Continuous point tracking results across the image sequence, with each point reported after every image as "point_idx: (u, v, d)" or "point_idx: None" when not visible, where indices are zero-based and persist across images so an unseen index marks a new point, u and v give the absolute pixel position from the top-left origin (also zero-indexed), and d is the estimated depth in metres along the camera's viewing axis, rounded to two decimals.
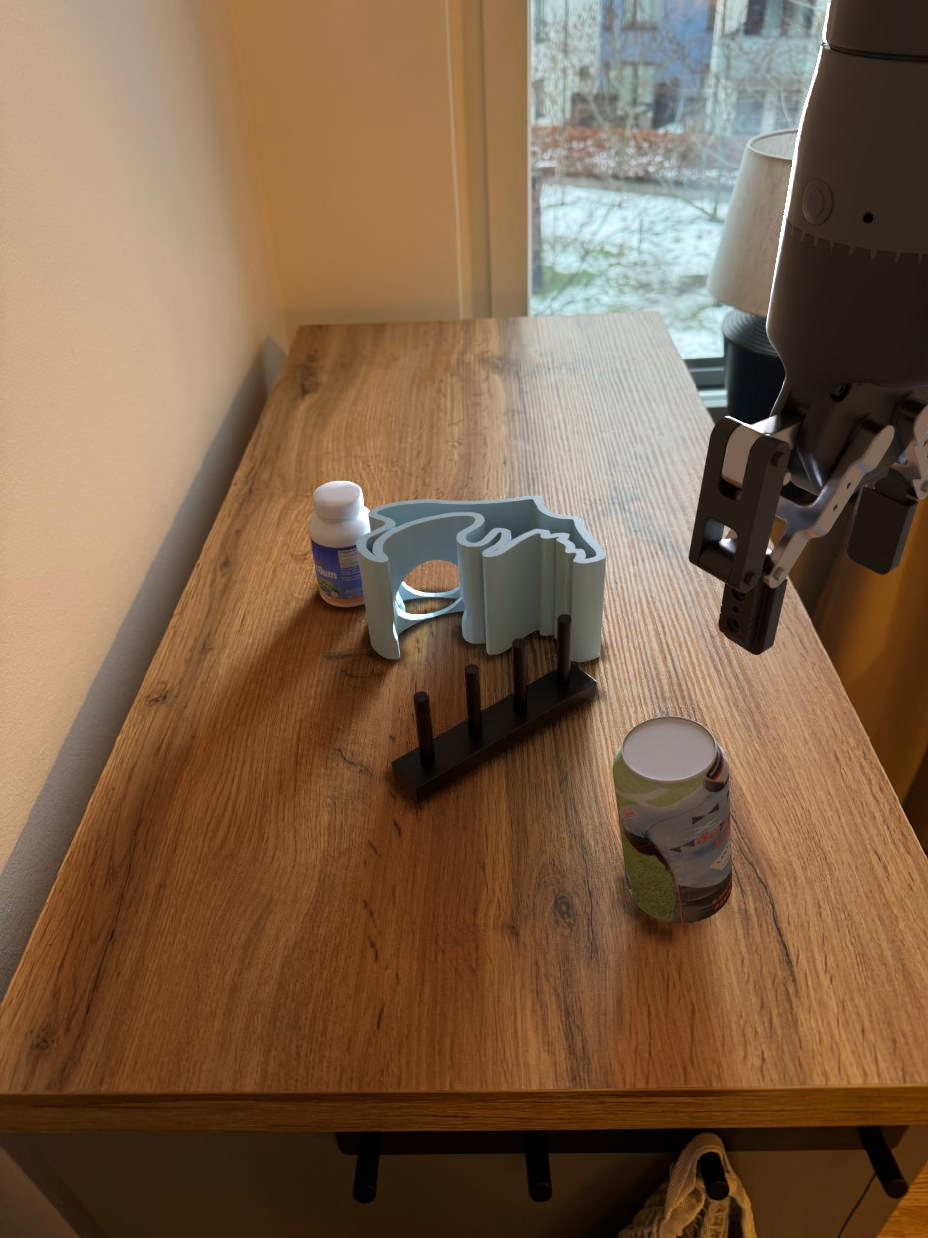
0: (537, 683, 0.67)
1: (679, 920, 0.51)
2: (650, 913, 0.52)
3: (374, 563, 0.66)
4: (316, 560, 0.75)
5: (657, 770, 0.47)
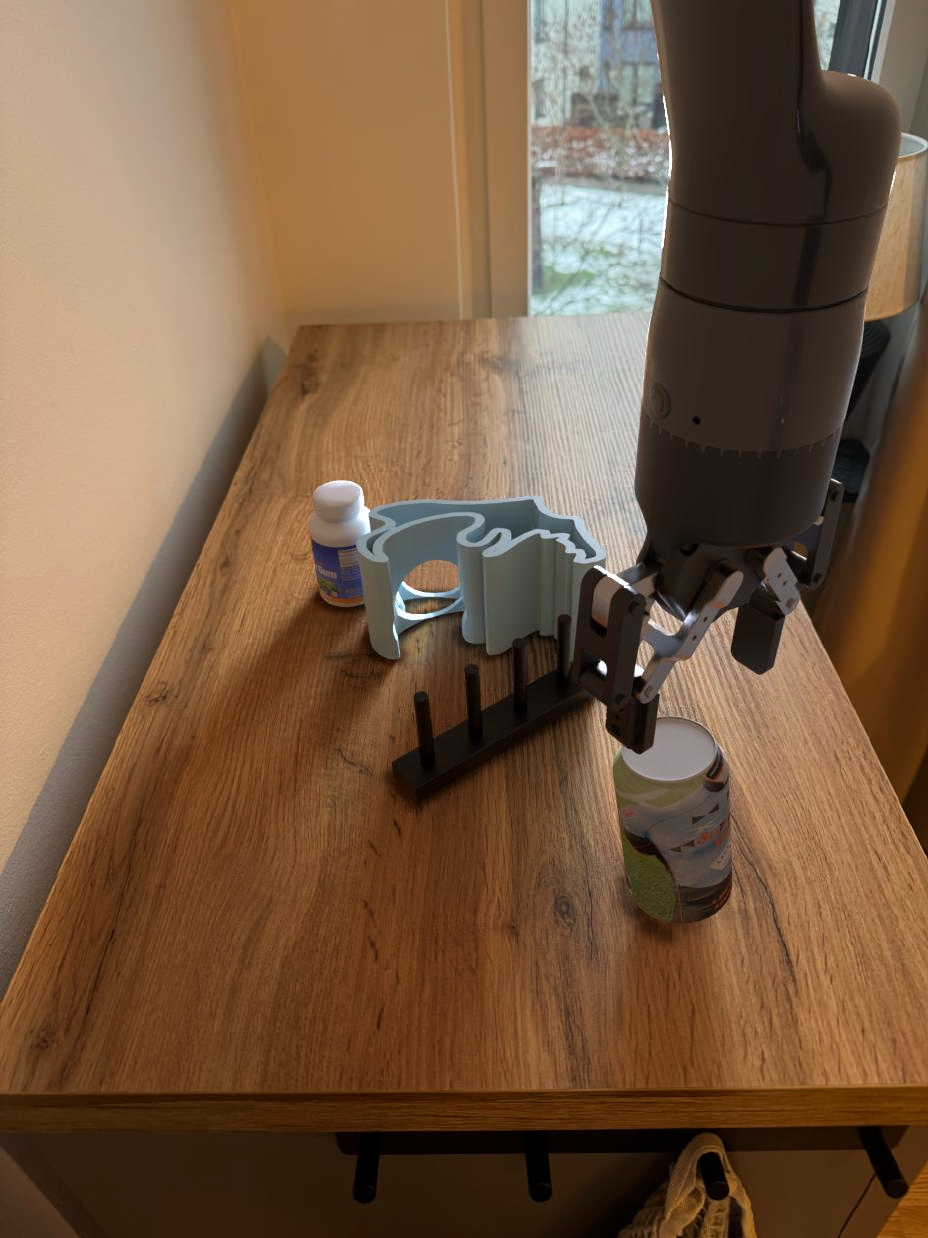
0: (537, 683, 0.67)
1: (679, 920, 0.51)
2: (650, 913, 0.52)
3: (374, 563, 0.66)
4: (316, 560, 0.75)
5: (657, 770, 0.47)
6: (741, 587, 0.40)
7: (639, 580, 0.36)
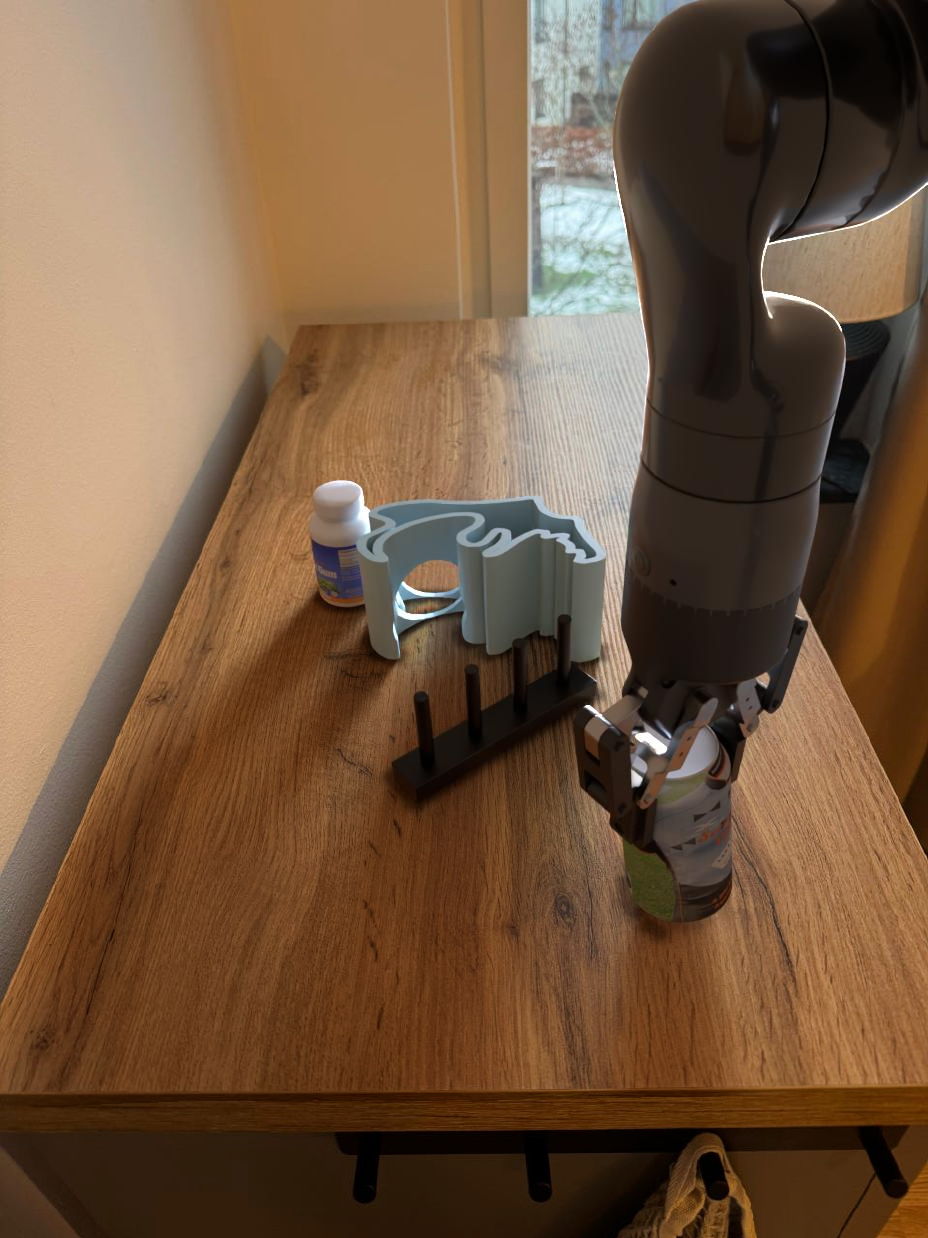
0: (537, 683, 0.67)
1: (679, 919, 0.51)
2: (650, 912, 0.52)
3: (374, 563, 0.66)
4: (316, 560, 0.75)
5: None
6: (718, 705, 0.44)
7: (623, 718, 0.41)
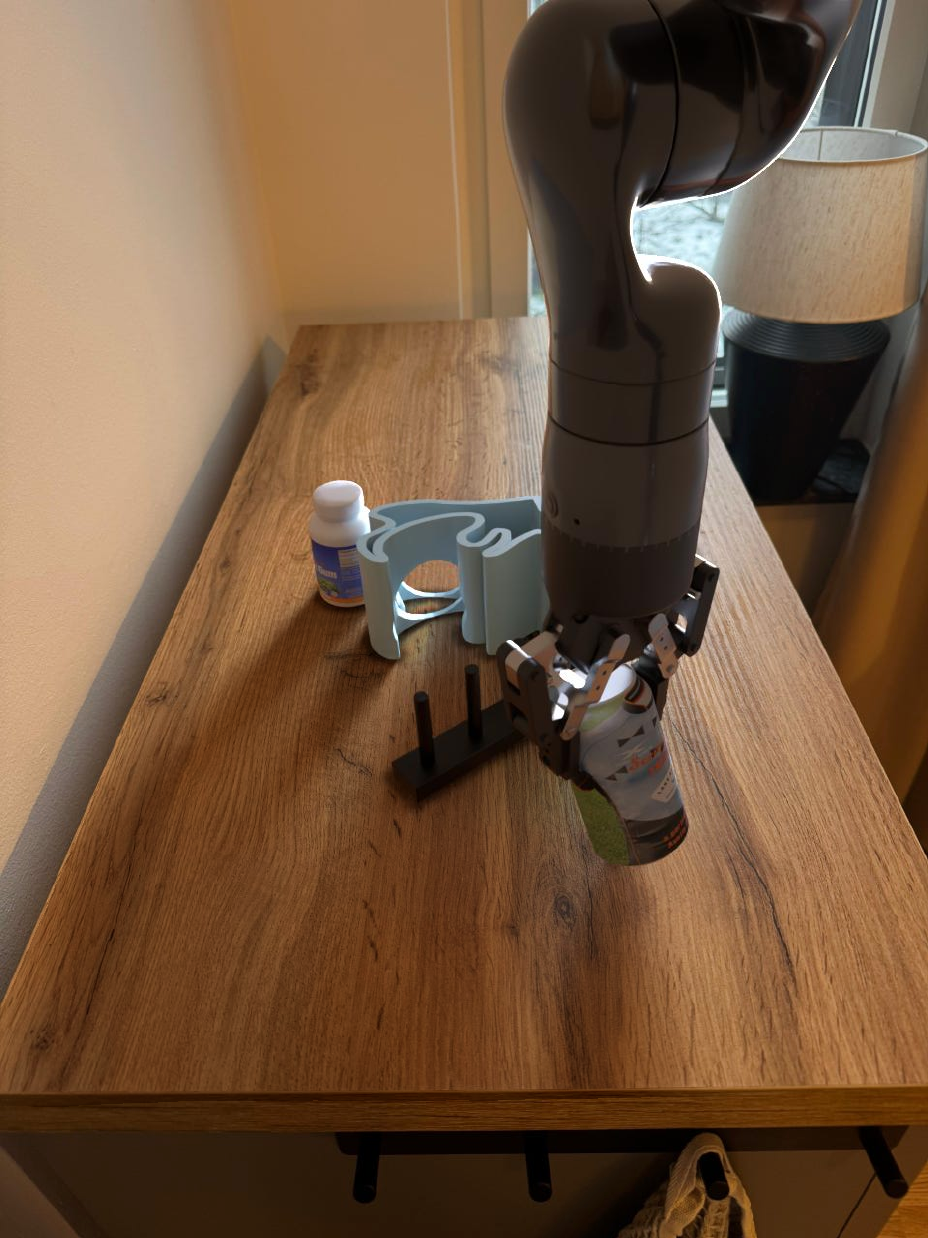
0: None
1: (635, 861, 0.53)
2: (609, 859, 0.54)
3: (374, 563, 0.66)
4: (316, 560, 0.75)
5: None
6: (633, 644, 0.48)
7: (540, 651, 0.45)
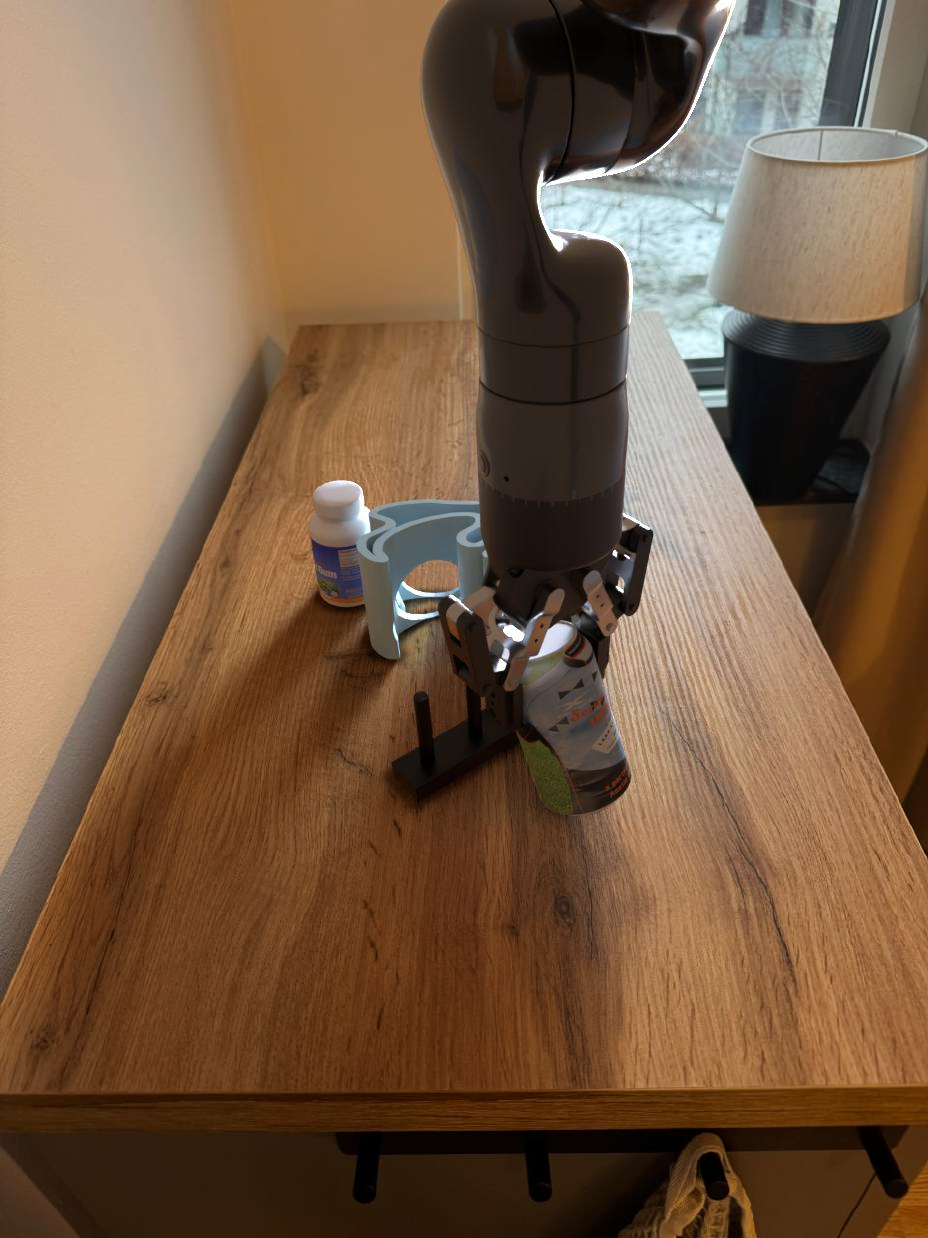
0: None
1: (579, 809, 0.56)
2: (555, 809, 0.57)
3: (374, 563, 0.66)
4: (316, 560, 0.75)
5: None
6: (571, 601, 0.51)
7: (478, 603, 0.48)
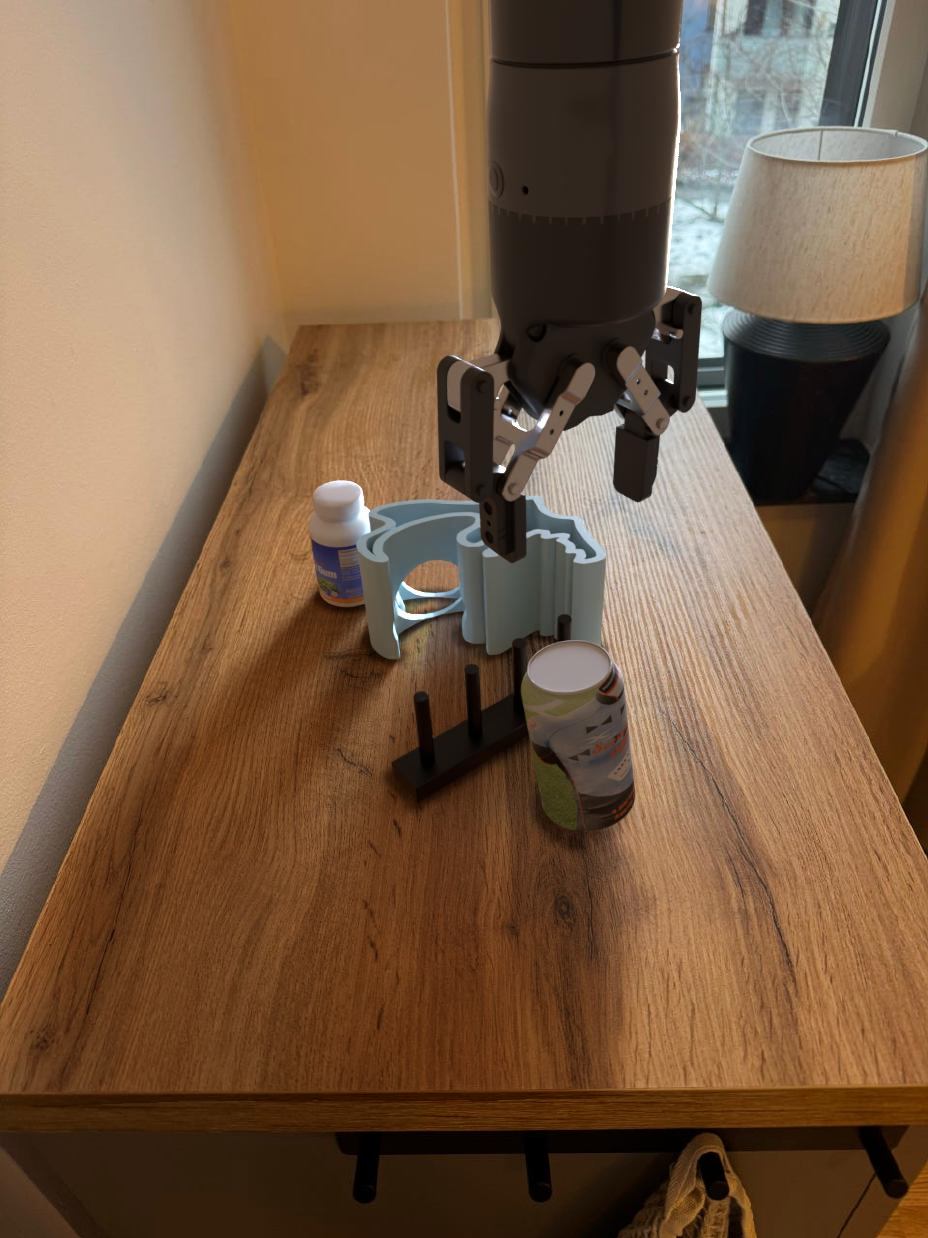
0: None
1: (582, 828, 0.56)
2: (558, 822, 0.57)
3: (374, 563, 0.66)
4: (316, 560, 0.75)
5: (555, 684, 0.52)
6: (601, 391, 0.42)
7: (490, 364, 0.38)
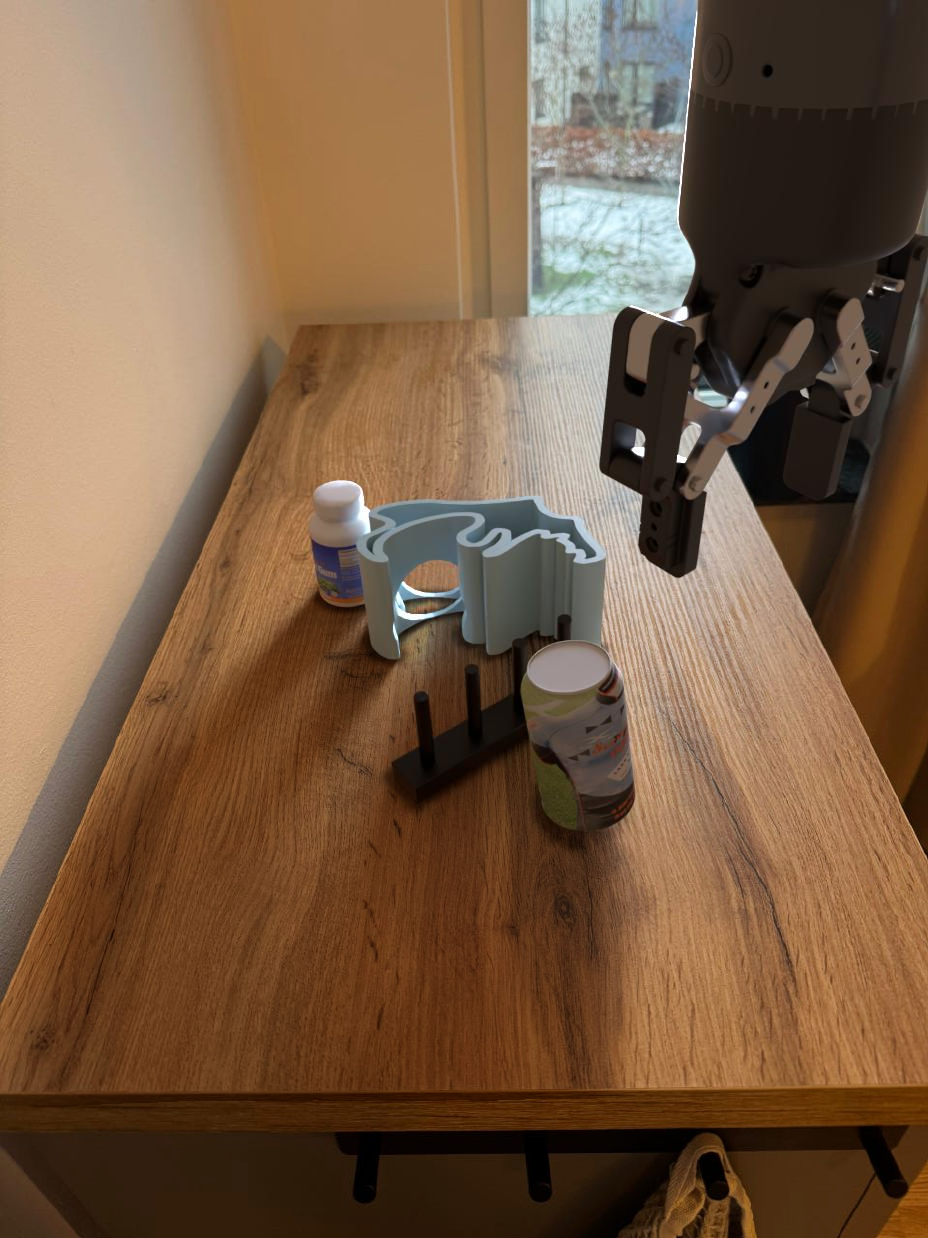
0: None
1: (582, 828, 0.56)
2: (557, 822, 0.57)
3: (374, 563, 0.66)
4: (316, 560, 0.75)
5: (555, 684, 0.52)
6: (807, 358, 0.33)
7: (687, 318, 0.29)
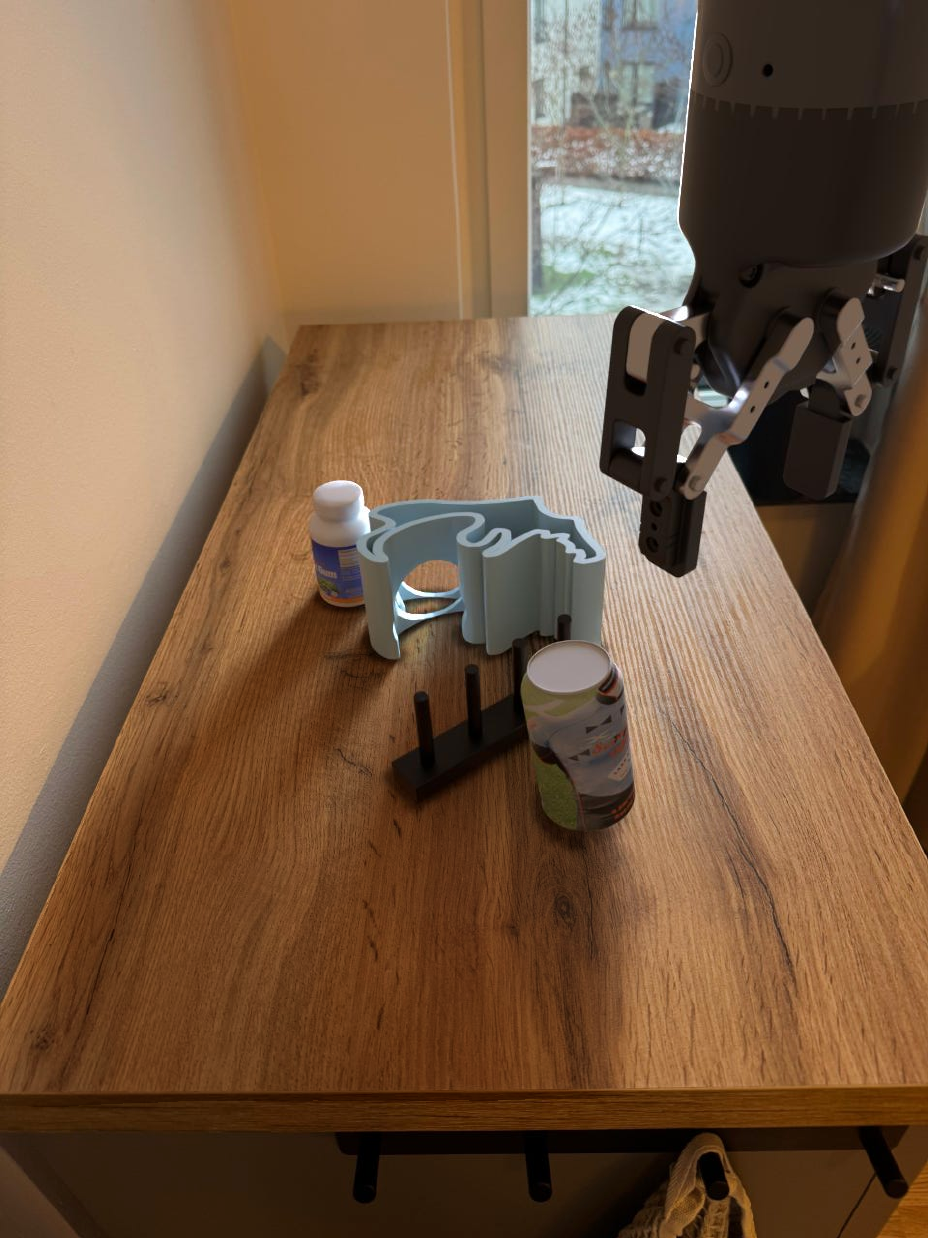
0: None
1: (582, 828, 0.56)
2: (557, 822, 0.57)
3: (374, 563, 0.66)
4: (316, 560, 0.75)
5: (555, 684, 0.52)
6: (807, 358, 0.33)
7: (687, 318, 0.29)
